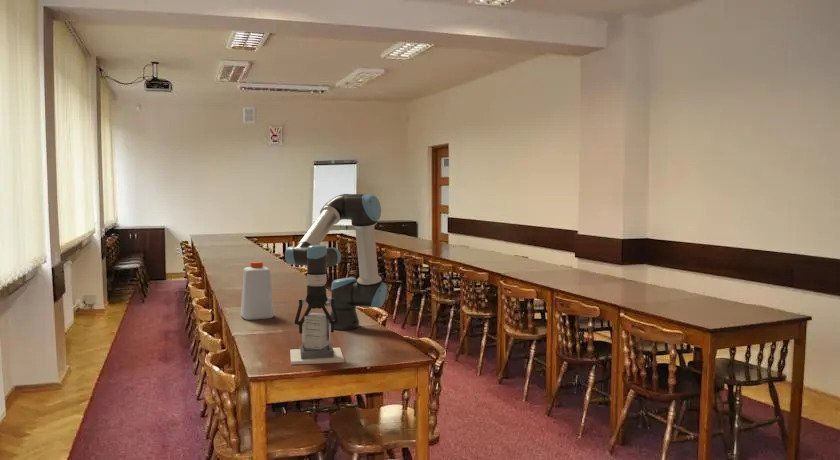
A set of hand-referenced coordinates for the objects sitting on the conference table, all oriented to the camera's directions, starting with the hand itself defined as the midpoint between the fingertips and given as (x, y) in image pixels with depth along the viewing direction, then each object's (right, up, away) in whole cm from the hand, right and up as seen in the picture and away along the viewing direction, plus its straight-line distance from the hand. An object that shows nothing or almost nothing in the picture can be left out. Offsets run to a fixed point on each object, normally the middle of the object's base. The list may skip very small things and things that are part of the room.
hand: (316, 341), depth 255 cm
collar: (0, -5, 0) cm, 5 cm away
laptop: (-14, +2, +122) cm, 123 cm away
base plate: (0, -6, +1) cm, 6 cm away
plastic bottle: (-42, -1, +75) cm, 86 cm away
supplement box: (0, -2, 0) cm, 2 cm away
